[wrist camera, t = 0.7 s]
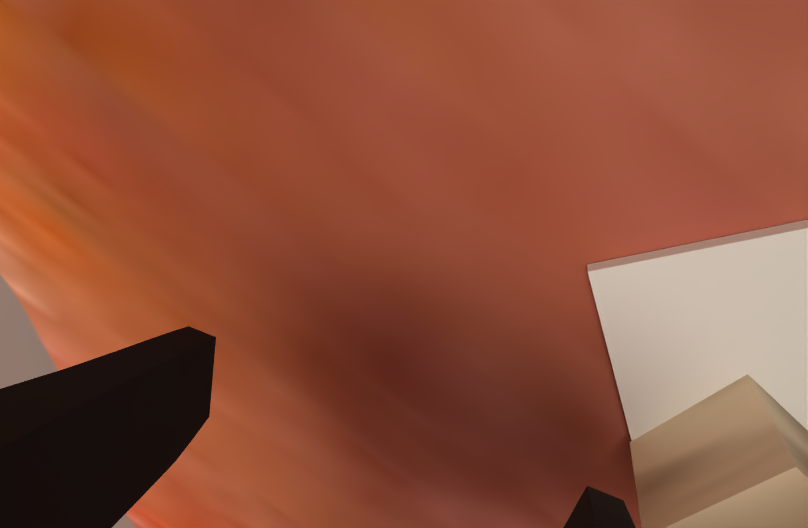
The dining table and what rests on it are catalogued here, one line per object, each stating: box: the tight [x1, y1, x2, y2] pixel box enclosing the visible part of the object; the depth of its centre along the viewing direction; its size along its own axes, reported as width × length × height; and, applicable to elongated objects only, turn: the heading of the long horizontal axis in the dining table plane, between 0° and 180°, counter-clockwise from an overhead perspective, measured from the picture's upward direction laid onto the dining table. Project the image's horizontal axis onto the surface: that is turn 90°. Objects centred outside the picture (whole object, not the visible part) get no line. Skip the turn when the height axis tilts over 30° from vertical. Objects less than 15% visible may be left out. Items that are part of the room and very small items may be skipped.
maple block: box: [630, 374, 808, 528], centre depth 16 cm, size 4×4×4 cm
